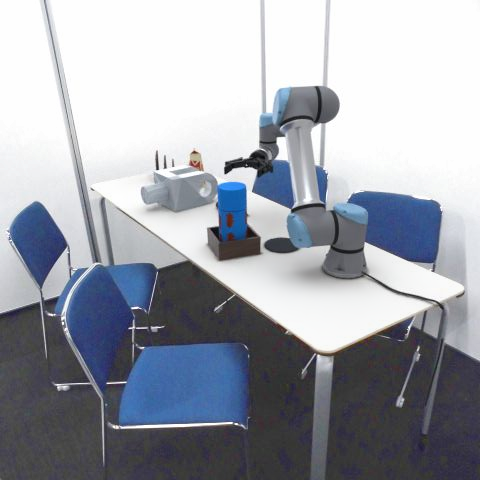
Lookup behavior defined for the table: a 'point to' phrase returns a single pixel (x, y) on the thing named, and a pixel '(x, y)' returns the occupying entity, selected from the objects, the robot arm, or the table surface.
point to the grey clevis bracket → (180, 188)
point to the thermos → (232, 211)
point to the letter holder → (164, 161)
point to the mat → (280, 245)
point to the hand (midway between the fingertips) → (241, 172)
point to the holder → (234, 244)
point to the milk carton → (196, 162)
